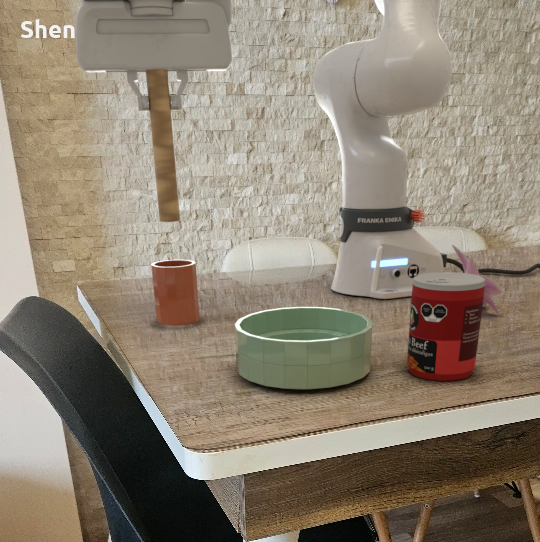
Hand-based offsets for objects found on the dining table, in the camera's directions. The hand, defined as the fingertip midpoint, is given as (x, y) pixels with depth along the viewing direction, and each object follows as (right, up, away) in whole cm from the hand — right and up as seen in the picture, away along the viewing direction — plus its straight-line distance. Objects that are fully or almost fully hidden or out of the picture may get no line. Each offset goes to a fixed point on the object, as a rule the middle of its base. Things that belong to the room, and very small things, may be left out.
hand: (160, 110), depth 91 cm
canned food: (+36, -38, -10) cm, 53 cm away
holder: (+1, -26, +13) cm, 29 cm away
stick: (0, -13, +6) cm, 14 cm away
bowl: (+19, -37, -9) cm, 43 cm away
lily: (+47, -24, +15) cm, 55 cm away
